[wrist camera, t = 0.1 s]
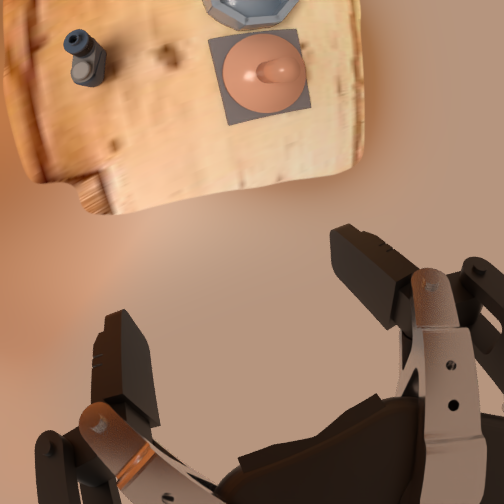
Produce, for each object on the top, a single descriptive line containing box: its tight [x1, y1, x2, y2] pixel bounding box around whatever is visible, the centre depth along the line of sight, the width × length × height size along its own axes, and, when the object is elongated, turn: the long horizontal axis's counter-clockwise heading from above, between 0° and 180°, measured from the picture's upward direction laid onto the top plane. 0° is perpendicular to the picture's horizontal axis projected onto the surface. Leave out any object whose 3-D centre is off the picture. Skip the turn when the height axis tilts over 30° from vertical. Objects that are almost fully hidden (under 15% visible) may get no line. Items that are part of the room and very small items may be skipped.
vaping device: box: [64, 29, 106, 87], centre depth 20 cm, size 3×5×12 cm, turn 174°
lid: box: [222, 34, 306, 113], centre depth 29 cm, size 11×11×7 cm
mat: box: [208, 29, 311, 126], centre depth 32 cm, size 12×12×1 cm
